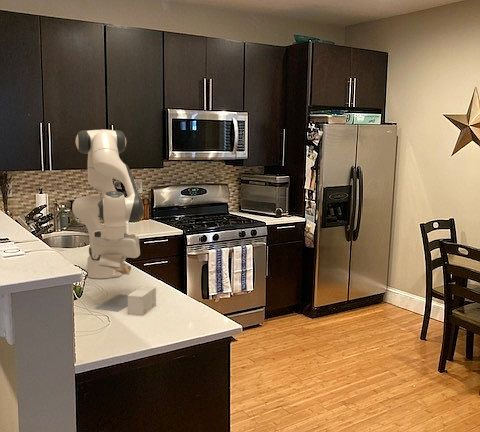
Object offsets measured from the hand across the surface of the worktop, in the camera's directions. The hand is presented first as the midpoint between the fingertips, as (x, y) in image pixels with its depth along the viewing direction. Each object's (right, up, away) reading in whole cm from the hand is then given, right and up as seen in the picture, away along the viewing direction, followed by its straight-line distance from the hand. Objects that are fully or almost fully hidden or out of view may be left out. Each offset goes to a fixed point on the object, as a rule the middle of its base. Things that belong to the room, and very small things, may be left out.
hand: (116, 266), depth 208 cm
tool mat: (0, -15, +4) cm, 16 cm away
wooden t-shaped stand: (0, -1, +1) cm, 2 cm away
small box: (+13, -12, +2) cm, 18 cm away
